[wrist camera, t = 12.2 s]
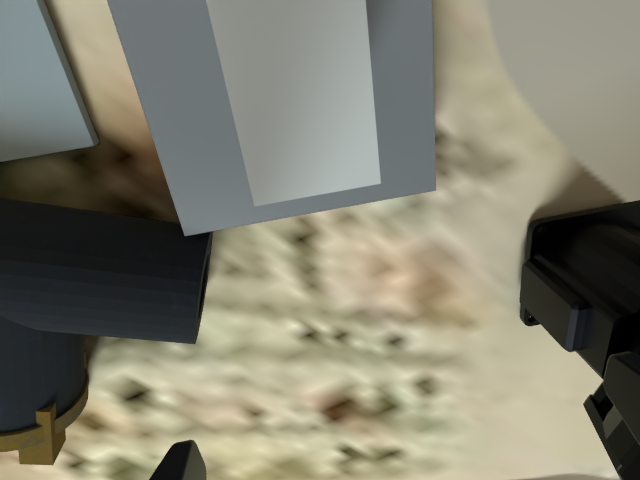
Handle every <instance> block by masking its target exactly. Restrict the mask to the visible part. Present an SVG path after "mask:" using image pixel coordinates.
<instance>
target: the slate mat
mask: <svg viewBox="0 0 640 480" xmlns="http://www.w3.org/2000/svg"><path fill="white" fill-rule="evenodd" d="M98 143H99V140H98V138H97V135H96V133H95V130H94V127H93V125H92V122H91V120H90V117H89V115H88V112H87V109H86V107H85V104H84V102H83V99H82V97H81V94H80V91H79V89H78V86H77V84H76V81H75V79H74V76H73V73H72V71H71V68H70V66H69V63H68V61H67V58H66V55H65V53H64V50H63V48H62V45H61V43H60V40H59V38H58V35H57V32H56V30H55V27H54V25H53V22H52V20H51V17H50V14H49V12H48V9H47V7H46V4H45V2H44V0H0V162H3V161H9V160H15V159H21V158H27V157H32V156H38V155H44V154H50V153H56V152H61V151H67V150H73V149H79V148H85V147H91V146H95V145H96V144H98Z"/></svg>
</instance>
